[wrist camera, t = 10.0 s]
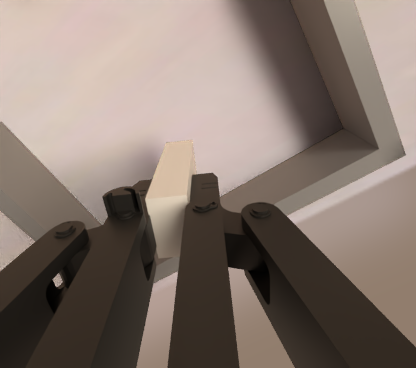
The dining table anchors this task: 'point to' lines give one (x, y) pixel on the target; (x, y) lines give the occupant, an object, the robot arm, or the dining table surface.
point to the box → (270, 180)
